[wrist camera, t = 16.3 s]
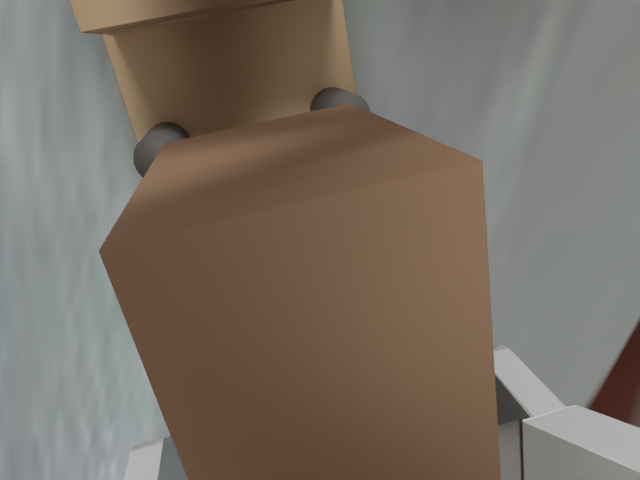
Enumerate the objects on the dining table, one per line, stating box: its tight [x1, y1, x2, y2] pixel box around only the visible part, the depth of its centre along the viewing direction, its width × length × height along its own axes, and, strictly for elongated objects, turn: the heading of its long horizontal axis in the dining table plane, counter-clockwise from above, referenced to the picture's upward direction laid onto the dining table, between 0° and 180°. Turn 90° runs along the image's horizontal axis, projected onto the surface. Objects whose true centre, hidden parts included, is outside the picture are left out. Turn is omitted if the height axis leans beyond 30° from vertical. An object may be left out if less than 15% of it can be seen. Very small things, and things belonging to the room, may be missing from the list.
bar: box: [99, 103, 501, 480], centre depth 8 cm, size 3×10×4 cm, turn 11°
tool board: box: [70, 0, 371, 177], centre depth 16 cm, size 8×18×5 cm, turn 11°
